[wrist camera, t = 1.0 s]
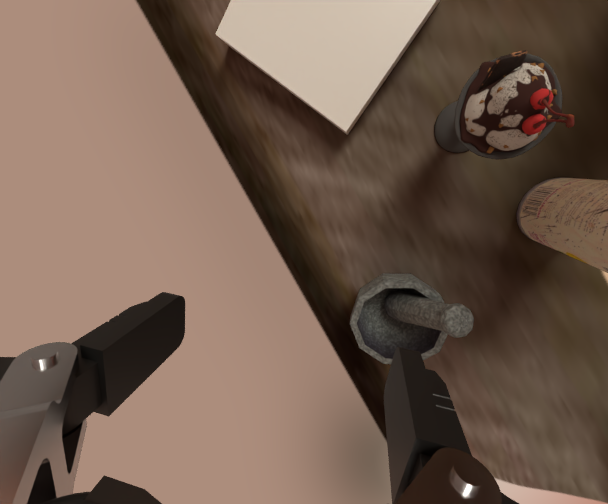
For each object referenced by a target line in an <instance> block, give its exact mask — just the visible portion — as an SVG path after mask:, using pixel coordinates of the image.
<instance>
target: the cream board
mask: <svg viewBox="0 0 608 504" xmlns="http://www.w3.org/2000/svg"><path fill="white" fill-rule="evenodd" d="M439 2H440V0H231V1H230V4H229V6H228V8H227V10H226V12H225V14H224V17H223V19H222V21H221V23H220V25H219V27H218V30H217V32H216V35H217V36H218V37H219V38H220V39H221V40H222V41H224V42H225V43H226V44H227V45H228V46H229V47H231V48H232V49H233V50H235V51H236V52H237V53H239V54H240V55H241V56H243V57H244V58H245V59H247V60H248V61H249V62H251V63H252V64H253V65H255V66H256V67H257V68H259V69H260V70H261V71H263V72H264V73H265V74H267V75H268V76H269V77H271V78H272V79H273V80H275V81H276V82H277V83H279V84H280V85H281V86H283V87H284V88H285V89H287V90H288V91H289V92H291V93H292V94H293V95H295V96H296V97H297V98H299V99H300V100H301V101H303V102H304V103H305V104H307V105H308V106H309V107H311V108H312V109H313V110H315V111H316V112H317V113H319V114H320V115H321V116H323V117H324V118H325V119H327V120H328V121H329V122H331V123H332V124H333V125H335V126H336V127H337V128H339V129H340V130H341V131H343V132H344V133H345V134H347V135H348V133H349V132H350V131H351V129H352V128H353V126H354V125H355V123H356V122H357V120H358V119H359V118H360V116H361V115H362V113H363V112H364V110H365V109H366V107H367V106H368V105H369V103H370V102H371V100H372V99H373V97H374V96H375V94H376V93H377V91H378V90H379V89H380V87H381V86H382V84H383V83H384V81H385V80H386V78H387V77H388V76H389V74H390V73H391V71H392V70H393V68H394V67H395V65H396V64H397V63H398V61H399V60H400V58H401V57H402V55H403V54H404V52H405V51H406V50H407V48H408V47H409V45H410V44H411V42H412V41H413V39H414V38H415V36H416V35H417V34H418V32H419V31H420V29H421V28H422V26H423V25H424V23H425V22H426V21H427V19H428V18H429V16H430V15H431V13H432V12H433V10H434V9H435V8H436V6H437V5H438V3H439Z"/></svg>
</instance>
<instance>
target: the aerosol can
mask: <svg viewBox="0 0 608 504" xmlns="http://www.w3.org/2000/svg"><path fill="white" fill-rule="evenodd" d="M516 215H517V224H518V226H519V228H520V230H521V232H522V233H523V234H525V235H526V236H527V237H528V238H529V239H532V240H534V241H536V242H538V243H541V244H543V245H545V246H548V247H550V248H552V249H554V250H557V251H559V252H561V253H564V254H566V255H568V256H570V257H573V258H575V259H577V260H580V261H582V262H584V263H586V264H589V265H591V266H593V267H596V268H598V269H600V270H603V271H605V272H607V273H608V180H593V179H577V178H560V177H557V178H553V179H548V180H545V181H543V182H541V183H539V184H537V185H535V186H534V187H533V188H531V189H530V190H529V191H528V192H527V193H526V194H525V195H524V197H523V198H522V200H521V201H520V203H519V206H518V210H517V213H516Z"/></svg>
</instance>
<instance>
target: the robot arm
mask: <svg viewBox="0 0 608 504" xmlns="http://www.w3.org/2000/svg"><path fill="white" fill-rule="evenodd" d="M184 333H185V299H184V297H182V296H179V295H174V294H170V293H166V292H162V293H160V294H159V295H157V296H155V297H154V298H152V299H151V300H149V301H148V302H143V303H141V304H137V305H135V306H132V307H130V308H128V309H127V310H125V311H123V312H122V313H120V314H119V316H115V317H114V318H112V319H110V321H109V322H105V323H104V324H102V325H101V326H99V327H97V328H96V329H94V330H93V331H91V332H89V333H88V334H86V335H85V336H83V337H81V338H80V339H78V340H77V341H75V342H73V343H72V344H70V343H65V342H56V343H48V344H44V345H40V346H37V347H34V348H32V349H29V350H27V351H26V352H24V353H22V354H21V355H19V356H18V357H0V504H161V503H160V502H159V501H158V500H157V499H155V498H154V497H153V496H152V495H151V494H149V493H148V492H147V491H146V490H145V489H142V488H139V487H136V486H133V485H130V484H127V483H124V482H121V481H118V480H115V479H113V478H110V477H107V476H103V478H102V479H101V480H100V481H99V482H98V484H97V485H96V486H95V487H94V489H93V490H92V491H91V492H83V493H75V494H73V487H74V481H75V477H76V472H77V468H78V463H79V459H80V454H81V449H82V445H83V440H84V436H85V431H86V427H87V421H86V418H87V417H88V416H89V415H90V414H91V413H92V412H96V413H100V414H103V415H106V416H110V415H111V413H113V412H114V411H115V410H116V409H117V408H118V407H119V406H120V405H121V404H122V403H123V402H124V400H126V399H127V398H128V397H129V396H130V395H131V394H132V393H133V392H134V391H135V390H136V389H137V388H138V387H139V386H140V385H141V384H142V383H143V382H144V381H145V380H146V379H147V378H148V377H149V376H150V375H151V374H152V373H153V372H154V371H155V370H156V369H157V368H158V367H159V366H160V365H161V364H162V363H163V362H164V361H165V360H166V359H167V358H168V357H169V356H170V355H171V354H172V353H173V352H174V351H175V350H176V349H177V348H178V347H179V346H180V344H181V342H182V340H183V337H184ZM384 408H385V420H386V432H387V444H388V456H389V469H390V481H391V493H392V504H519V503H517V502H515V501H513V500H511V499H510V498H508V497H507V496H506V495H504V494H503V493H501V492H500V489H499V486H498V484H497V482H496V481H495V479H494V477H493V476H492V474H491V473H490V472H489V471H488V470H487V468H486V467H485V466H484V465H483V464H481V463H480V462H479V461H478V460H477V459H475V458H474V457H472V455H471V452H470V449H469V447H468V444H467V441H466V438H465V436H464V433H463V430H462V427H461V425H460V422H459V419H458V417H457V414H456V412H455V411H454V409H455V408H454V406H453V403H452V400H450V395H449V392H448V389H447V387H446V384H445V383H444V382H443V380H442V379H441V378H440V377H439V376H438V374H437V373H436V372H435V371H432V370H428V369H425V366H424V362H423V359H422V356H421V353H420V352H418V351H414V350H409V349H405V348H401V347H397V348H396V350H395V353H394V356H393V360H392V363H391V367H390V370H389V374H388V377H387V381H386V385H385V391H384Z"/></svg>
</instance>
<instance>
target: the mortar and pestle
mask: <svg viewBox="0 0 608 504" xmlns="http://www.w3.org/2000/svg"><path fill="white" fill-rule="evenodd" d="M473 322H474V318H473V316H472V313H471V310H470V309H468V308H467V307H465V306H464V305H462V304H459V303H455V304H446V303H444V301H443V298H442V297H441V295H440V294H439V293H438V292H437V291H436V290H435V289H433V288H432V287H430V286H429V285H427V284H426V283H424V282H423V281H421V280H420V279H418V278H417V277H415V276H414V275H412V274H381V275H380V276H378V277H377V278H375V279H374V280H372V281H371V282H369V283H368V284H366V285H365V286H363V287H362V288H360V290H359V293H358V296H357V299H356V301H355V304H354V307H353V310H352V313H351V316H350V325H351V328H352V330H353V333H354V335H355V338H356V340H357V343H358V345H359V348H360V349H362V350H363V351H365V352H366V353H368V354H369V355H371V356H372V357H374V358H375V359H377V360H378V361H380V362H382V363H383V364H391V363H392V360H393V356H394V353H395V350H396V348H397V347H401V348H405V349H409V350H414V351H418V352H420V353H421V356H422V359H423V360H425V359H427V358H429V357H430V356H432V355H434V354H436V353H438V352H440V350H441V348H442V346H443V344H444V341H445V339H446V337H447V335H450V336H451V337H454V338H458V337H465V336H466V335H467V334H468V333H469V332H470V331H471V330H472V327H473Z"/></svg>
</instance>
